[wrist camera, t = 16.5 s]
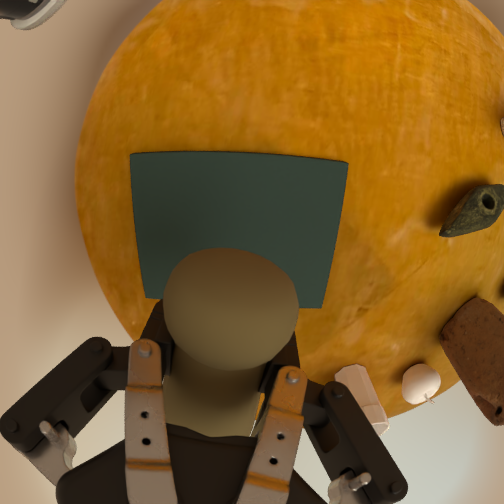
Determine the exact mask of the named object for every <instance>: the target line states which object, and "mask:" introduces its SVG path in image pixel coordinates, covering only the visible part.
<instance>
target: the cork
mask: <svg viewBox="0 0 504 504" xmlns="http://www.w3.org/2000/svg"><path fill="white" fill-rule="evenodd" d="M163 308H164V319H165V322H166V325H167V329H168V331H169V333H170V335H171V336H172V338H173V340H174V347H173V355H172V363H171V374H170V376H168V375H165V376H164V380H163V396H164V409H165V420H166V423H170V424H174V425H179V426H183V427H187V428H189V429H191V430H194V431H196V432H199V433H201V434H203V435H206V436H209V437H223V436H234V435H238V436H247V437H249V436H250V434H251V431H252V428H253V425H254V421H255V416H256V412H257V408H258V404H259V399H260V395H261V393H260V392H258V390H259V387H260V384H261V381H262V378H263V374H264V370H265V367H266V363H267V362H268V361H270V360H271V359H272V358H273V357H274V356H275V355H276V354H277V353H278V352H279V351H280V350H281V349H282V348H283V347H284V346H285V345H286V344H287V343H288V342H289V340H290V338H291V336H292V334H293V332H294V329H295V326H296V322H297V319H298V312H299V303H298V298H297V294H296V291H295V287H294V283H293V282H292V280H291V279H290V278H289V276H288V275H287V274H286V273H285V272H284V271H283V270H281V269H280V268H279V267H278V266H276V265H275V264H274V263H273V262H271V261H269V260H267V259H265V258H264V257H262V256H260V255H257V254H254V253H251V252H248V251H244V250H239V249H234V248H211V249H204V250H200V251H197V252H195V253H192V254H189V255H188V256H187V257H185V258H184V259H183V260H181V261H180V262H179V263H178V265H177V266H176V267H175V268H174V269H173V270H172V273H171V275H170V277H169V279H168V281H167V284H166V287H165V289H164V292H163Z"/></svg>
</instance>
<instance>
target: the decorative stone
mask: <svg viewBox="0 0 504 504" xmlns="http://www.w3.org/2000/svg"><path fill="white" fill-rule="evenodd" d="M503 209H504V185H502V184H495V185H480V186H476V187H474V188H473V189H472V190H470V191H469V192H468V193H467V194H466V195H465V196H464V197H463V198H462V199H461V200H460V201H459V202H458V204H457V205H456V206H455V207H454V209H453V210H452V211H451V212H450V214H449V215H448V217H447V218H446V220H445V222H444V223H443V225H442V227H441V230H440V233H439V236H442V237H455V236H459V235H463V234H467V233H471V232H475V231H478V230H482V229H485V228H488V227H489V226H491V225H492V224H493V223H494V222H495V221H496V220H497V219H498V217H499V216H500V214H501V212H502V211H503Z"/></svg>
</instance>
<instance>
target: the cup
mask: <svg viewBox="0 0 504 504" xmlns="http://www.w3.org/2000/svg"><path fill="white" fill-rule="evenodd" d="M335 381H337V382H341V383H343V384H344V385H346V386H347V387H348V389H349V390H350V392H351V393H352V395H353V396H354V398H355V400H356V401H357V403H358V404H359V406H360V408H361V409H362V411H363V412H364V414H365V415H366V417H367V419H368V420H369V422H370V423H371V425H372V427H373V428H374V430H375V431H376V433H377V434H378V436H381V435H382V434H383V433H385V432H386V431H387V430H388V429H389V428H390V425H389V422H388V419H387V417H386V414H385V412H384V409H383V407H382V406H381V404H380V402H379V399H378V397H377V395H376V392H375V390H374V387H373V385H372V383H371V380H370V378H369V376H368V373H367V371H366V368H365V367H364V366H361V365H358V364H354V365H351V366H347V367H343V368H342V369H341V370H340V371H339V372H337V373H336V374H335Z"/></svg>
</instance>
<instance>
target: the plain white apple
mask: <svg viewBox="0 0 504 504" xmlns="http://www.w3.org/2000/svg"><path fill="white" fill-rule="evenodd" d="M440 383H441V381H440V376H439V374H438V372H437V371H436V370H435V369H433V368H431V367H429V366H428V365H426V364H416V365H414V366H412V367H410V368H409V369H408V370H407V371H406V372H405V373H404V375H403V382H402V395H403V398H404V399H405V400H406V401H407V402H409V403H411V404H418V403H421V402H424V401H426V400H427V401H429V402H431V403H434V402H433V401H432V400H430V399H429V398H430V397H431V396H433V395H434V394H435V393H436V391H437V390H438V389H439V387H440Z"/></svg>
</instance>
